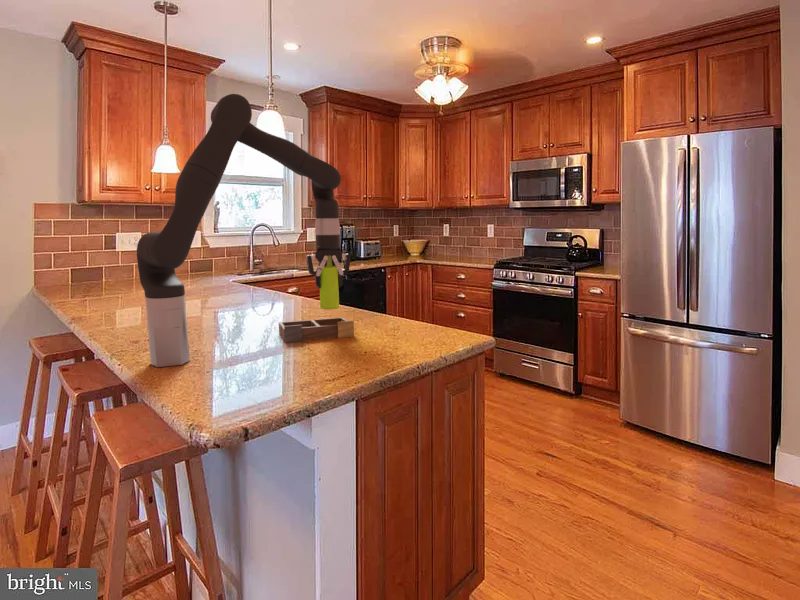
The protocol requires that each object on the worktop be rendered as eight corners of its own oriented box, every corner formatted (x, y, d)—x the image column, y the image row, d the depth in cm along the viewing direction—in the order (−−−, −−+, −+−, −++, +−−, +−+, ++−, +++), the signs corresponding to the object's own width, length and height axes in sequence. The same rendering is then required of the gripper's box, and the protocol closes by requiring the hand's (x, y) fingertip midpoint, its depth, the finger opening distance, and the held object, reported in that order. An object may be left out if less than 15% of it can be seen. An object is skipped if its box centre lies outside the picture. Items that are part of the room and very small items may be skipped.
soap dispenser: (314, 309, 161) (312, 244, 158) (327, 305, 167) (325, 243, 164) (330, 310, 159) (327, 245, 156) (342, 307, 165) (340, 244, 162)
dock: (354, 336, 160) (353, 320, 159) (285, 343, 152) (284, 326, 152) (343, 328, 172) (343, 313, 171) (279, 334, 165) (278, 318, 164)
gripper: (306, 234, 154) (308, 290, 156) (353, 233, 159) (354, 287, 161) (302, 233, 160) (304, 287, 163) (347, 232, 165) (348, 284, 168)
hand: (329, 287), depth 162 cm, fingers closed on soap dispenser, 6 cm apart
